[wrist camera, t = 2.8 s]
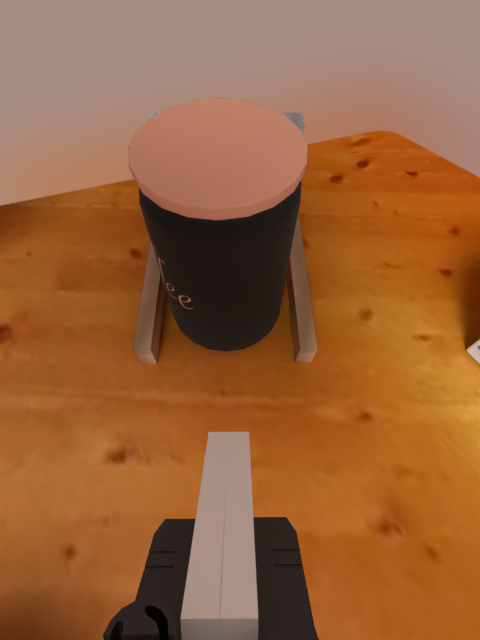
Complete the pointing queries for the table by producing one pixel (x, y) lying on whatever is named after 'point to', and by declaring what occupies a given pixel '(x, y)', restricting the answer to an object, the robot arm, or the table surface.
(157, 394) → the table surface
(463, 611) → the table surface
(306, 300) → the channel
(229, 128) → the coffee jar
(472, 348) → the light bulb box
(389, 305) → the table surface
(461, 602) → the table surface
